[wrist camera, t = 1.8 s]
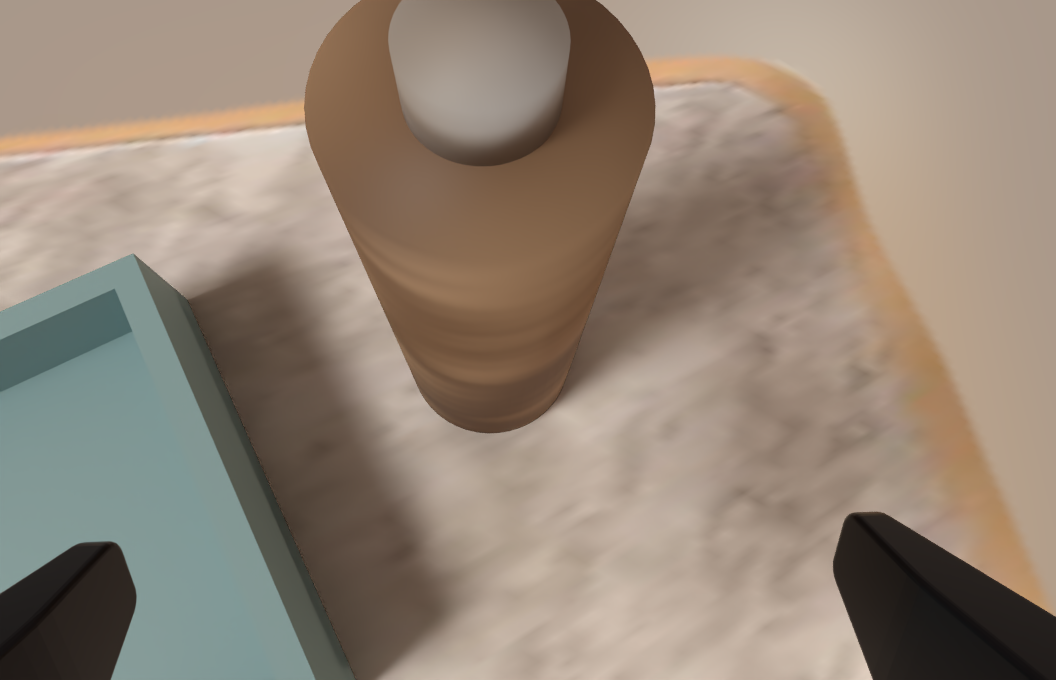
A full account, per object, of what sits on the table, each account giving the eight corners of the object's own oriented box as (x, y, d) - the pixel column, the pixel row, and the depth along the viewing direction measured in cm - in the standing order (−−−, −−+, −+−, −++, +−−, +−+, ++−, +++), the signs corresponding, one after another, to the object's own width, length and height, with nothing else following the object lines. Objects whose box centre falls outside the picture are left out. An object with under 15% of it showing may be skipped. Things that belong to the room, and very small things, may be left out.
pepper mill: (597, 332, 23) (739, -6, 9) (516, 464, 21) (547, 288, 8) (468, 257, 23) (426, -159, 10) (380, 379, 22) (193, 82, 8)
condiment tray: (361, 691, 19) (332, 718, 16) (-151, 1003, 16) (-316, 1114, 13) (187, 299, 22) (133, 253, 19) (-258, 503, 20) (-409, 491, 17)
